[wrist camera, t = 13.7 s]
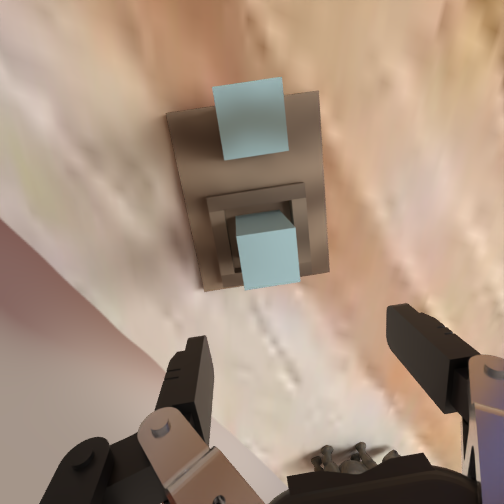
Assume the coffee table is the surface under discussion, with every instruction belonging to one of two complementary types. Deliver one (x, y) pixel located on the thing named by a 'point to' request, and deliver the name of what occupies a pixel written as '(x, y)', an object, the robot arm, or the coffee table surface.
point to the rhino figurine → (349, 461)
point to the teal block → (267, 249)
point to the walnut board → (251, 173)
